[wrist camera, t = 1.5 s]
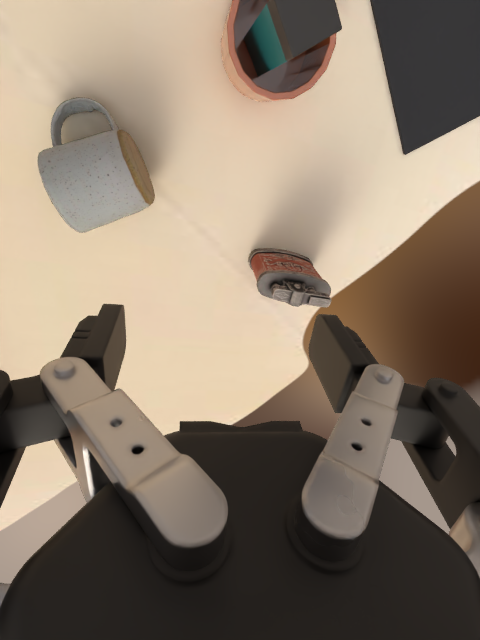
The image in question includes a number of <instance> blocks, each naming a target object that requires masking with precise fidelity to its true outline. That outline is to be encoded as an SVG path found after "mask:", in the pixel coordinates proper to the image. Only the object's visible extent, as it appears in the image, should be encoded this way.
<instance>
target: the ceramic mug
mask: <svg viewBox="0 0 480 640" xmlns="http://www.w3.org/2000/svg"><path fill="white" fill-rule="evenodd" d="M93 110H98V111H100V112H101V113H103V114H104V115H105V116H106V118H107V119H108V121H109V123H110V126H111V128H112V131H106V132H102V133H99V134H96V135H93V136H90V137H87V138H84V139H80V140H76V141H72V142H69V143H65V144H62V143H61V128H62V125H63V122H64V120H65V119H66V118H67V117H69V115H71V114H74V113H79V112H83V111H89V112H92V111H93ZM51 139H52V145H53V147H52V148H48V149H45V150H43V151H41V152H40V153H39V155H38V167H39V172H40V175H41V178H42V182H43V184H44V187H45V189H46V192H47V193H48V196H49V198H50V200H51V202H52V203H53V205H54V206H55V208H56V209H57V211H58V212H59V214H60V216H61V217H62V218H63V220H64V221H65V222H66V223H67V224H68V225H69V226H70V227H71V228H73V229H74V230H76V231H77V232H81V233H83V232H87V231H90V230H92V229H95V228H97V227H100V226H103V225H105V224H108V223H111V222H113V221H116V220H118V219H121V218H123V217H126V216H129V215H131V214H134V213H137V212H139V211H141V210H143V209H145V208H146V207H148V206H150V205H151V204H152V203H153V201H154V198H155V195H154V189H153V186H152V183H151V179H150V177H149V174H148V171H147V168H146V166H145V163H144V161H143V159H142V156H141V154H140V152H139V150H138V148H137V146H136V144H135V142H134V140H133V139H132V137H131V136H130V135H129V134H128V133H127V132H125V131H123V130H118V126H117V124H116V123H115V121H114V119H113V118H112V116H111V115H110V113H109V112H108V111H107V110H106V108H105V107H104V106H102V105H101V104H100V103H98V102H96V101H95V100H92V99H90V98H83V97H79V98H73V99H70V100H67V101H65V102H63V103H62V104H60V105H59V106H58V107H57V109H56V111H55V113H54V115H53V117H52V122H51Z"/></svg>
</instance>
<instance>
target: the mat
mask: <svg viewBox="0 0 480 640" xmlns="http://www.w3.org/2000/svg"><path fill="white" fill-rule="evenodd" d="M370 1H371V5H372V10H373V15H374V19H375V24H376V29H377V33H378V38H379V42H380V47H381V52H382V56H383V61H384V65H385V70H386V75H387V79H388V84H389V89H390V93H391V98H392V102H393V107H394V112H395V116H396V121H397V126H398V130H399V135H400V139H401V144H402V149H403V153H404V154H405V155H406V154H408V153H410V152H411V151H413V150H415V149H417V148H419V147H421V146H423V145H425V144H427V143H429V142H431V141H433V140H434V139H436V138H438V137H440V136H442V135H444V134H446V133H448V132H450V131H452V130H454V129H456V128H457V127H459V126H461V125H463V124H465V123H467V122H469V121H471V120H473V119H475V118H477V117H479V116H480V0H370Z"/></svg>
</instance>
